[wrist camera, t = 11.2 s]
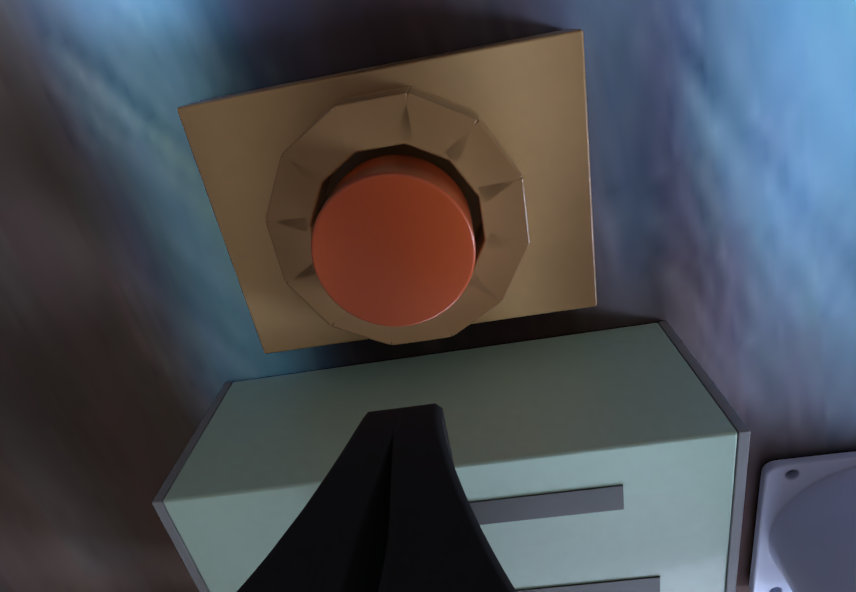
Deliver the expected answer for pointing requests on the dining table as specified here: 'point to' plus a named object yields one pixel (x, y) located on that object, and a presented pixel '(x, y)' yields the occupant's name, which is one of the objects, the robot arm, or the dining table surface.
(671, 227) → the dining table surface
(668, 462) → the toaster
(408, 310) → the red stop button
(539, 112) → the push button base
